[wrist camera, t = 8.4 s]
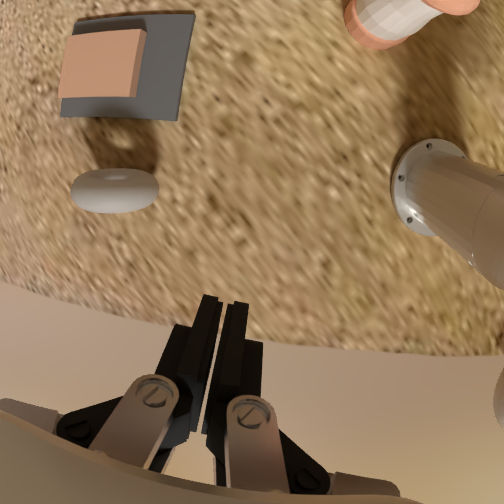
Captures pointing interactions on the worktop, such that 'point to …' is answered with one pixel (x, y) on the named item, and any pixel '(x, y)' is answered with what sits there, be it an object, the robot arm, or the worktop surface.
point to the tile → (102, 64)
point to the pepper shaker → (396, 18)
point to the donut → (114, 190)
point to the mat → (143, 68)
